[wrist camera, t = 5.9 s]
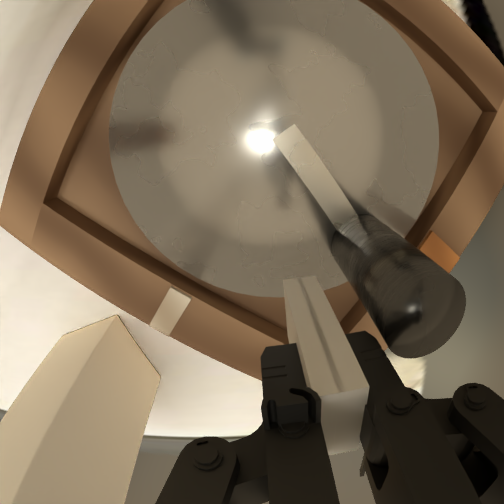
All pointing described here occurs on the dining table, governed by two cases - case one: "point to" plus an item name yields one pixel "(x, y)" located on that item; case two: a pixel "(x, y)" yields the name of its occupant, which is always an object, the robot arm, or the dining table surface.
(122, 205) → the board
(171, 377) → the dining table surface
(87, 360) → the milk
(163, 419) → the dining table surface
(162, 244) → the dial
